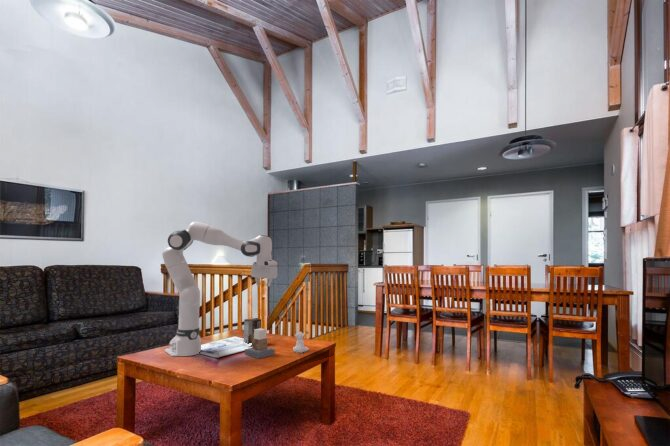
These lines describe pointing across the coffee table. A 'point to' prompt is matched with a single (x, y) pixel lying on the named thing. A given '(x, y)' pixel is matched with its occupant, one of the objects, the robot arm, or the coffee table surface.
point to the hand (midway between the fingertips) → (263, 285)
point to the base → (259, 352)
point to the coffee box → (250, 328)
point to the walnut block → (259, 344)
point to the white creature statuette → (300, 343)
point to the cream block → (260, 333)
